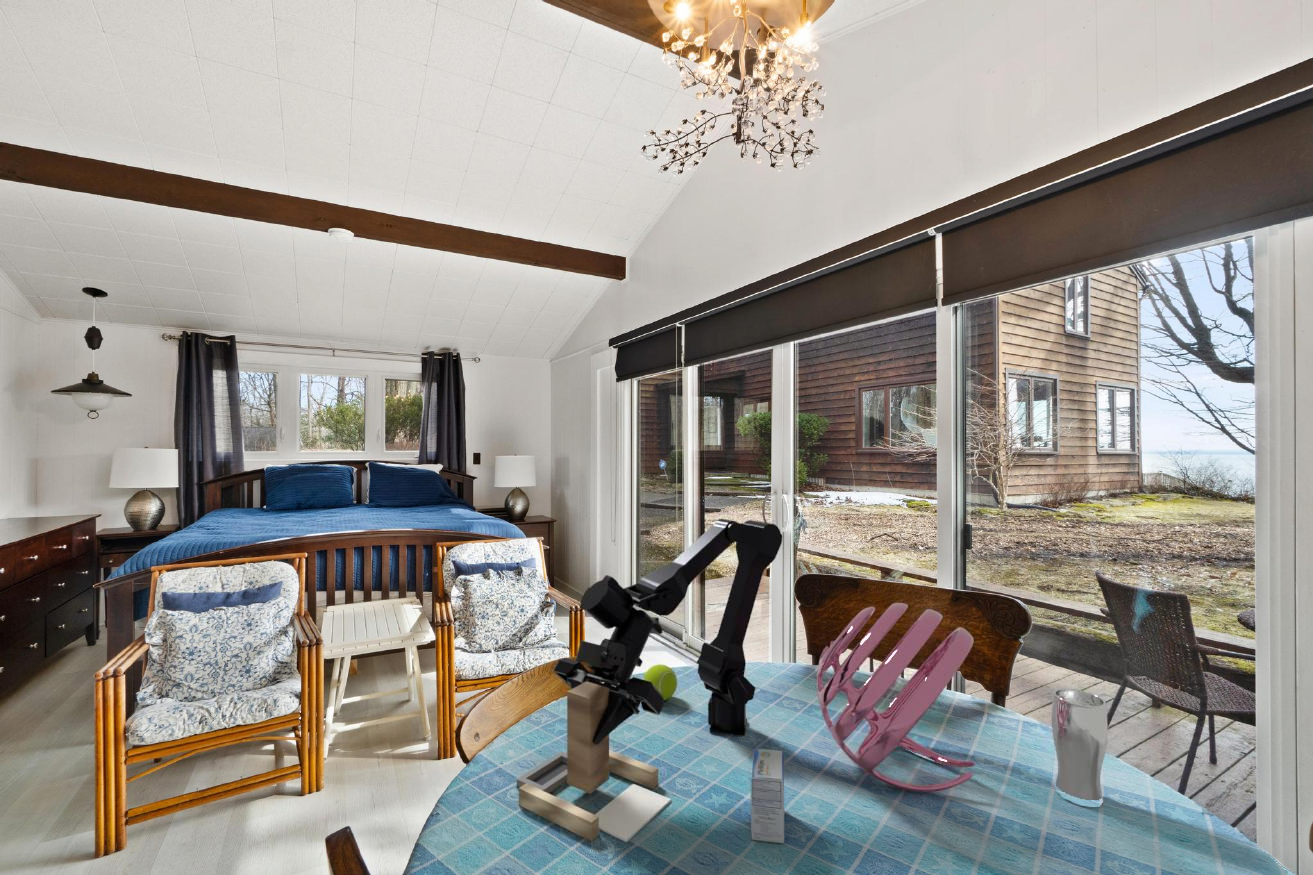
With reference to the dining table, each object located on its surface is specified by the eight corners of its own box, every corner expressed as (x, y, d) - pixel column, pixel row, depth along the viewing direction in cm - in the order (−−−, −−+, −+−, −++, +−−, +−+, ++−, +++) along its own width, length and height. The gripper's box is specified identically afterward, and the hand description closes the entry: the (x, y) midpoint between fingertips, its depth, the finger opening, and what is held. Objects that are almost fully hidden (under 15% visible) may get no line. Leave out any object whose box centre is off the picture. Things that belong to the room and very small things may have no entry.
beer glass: (1097, 787, 93) (1097, 691, 93) (1115, 814, 86) (1115, 710, 86) (1045, 779, 95) (1045, 684, 95) (1059, 804, 89) (1059, 703, 89)
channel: (518, 805, 88) (518, 788, 88) (589, 757, 101) (589, 742, 101) (591, 841, 80) (591, 822, 80) (658, 784, 93) (658, 768, 93)
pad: (586, 823, 84) (586, 821, 84) (633, 785, 93) (633, 783, 93) (626, 842, 80) (626, 839, 80) (670, 801, 89) (670, 799, 89)
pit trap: (516, 786, 93) (516, 779, 93) (561, 758, 101) (561, 751, 101) (542, 798, 90) (542, 790, 90) (586, 768, 98) (586, 761, 98)
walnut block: (586, 769, 94) (586, 681, 94) (609, 779, 92) (609, 688, 92) (567, 783, 90) (567, 691, 90) (589, 793, 88) (589, 698, 88)
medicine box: (784, 845, 80) (784, 780, 80) (750, 840, 80) (750, 776, 80) (783, 809, 87) (784, 750, 87) (752, 805, 88) (753, 746, 88)
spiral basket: (1060, 659, 94) (907, 547, 106) (1019, 772, 74) (837, 618, 87) (960, 750, 109) (836, 643, 121) (904, 864, 89) (763, 722, 102)
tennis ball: (636, 698, 124) (636, 665, 124) (660, 689, 129) (660, 656, 129) (659, 710, 119) (659, 674, 119) (683, 699, 124) (683, 665, 124)
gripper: (560, 609, 99) (510, 699, 90) (653, 629, 89) (606, 733, 80) (591, 642, 106) (547, 730, 97) (681, 665, 96) (641, 765, 86)
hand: (582, 738), depth 90 cm, fingers closed on walnut block, 4 cm apart
